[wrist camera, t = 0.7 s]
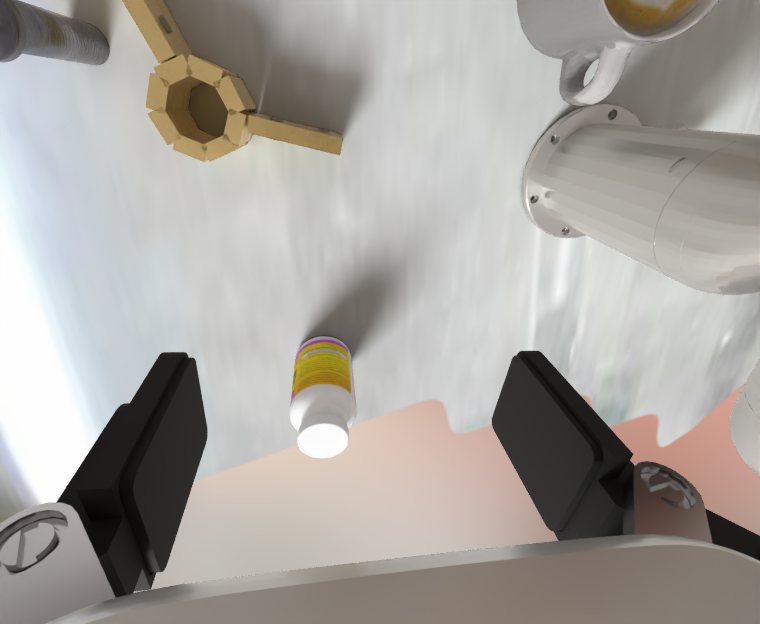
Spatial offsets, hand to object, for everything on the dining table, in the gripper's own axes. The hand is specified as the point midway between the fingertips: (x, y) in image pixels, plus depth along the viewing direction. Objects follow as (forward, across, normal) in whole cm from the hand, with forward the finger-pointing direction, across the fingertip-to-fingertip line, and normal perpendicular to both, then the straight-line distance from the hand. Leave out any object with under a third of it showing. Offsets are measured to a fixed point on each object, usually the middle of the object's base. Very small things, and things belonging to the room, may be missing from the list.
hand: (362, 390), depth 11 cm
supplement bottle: (+28, 0, +19) cm, 34 cm away
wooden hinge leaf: (+28, +3, -5) cm, 29 cm away
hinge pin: (+28, +18, -9) cm, 35 cm away
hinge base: (+28, +12, -10) cm, 32 cm away
